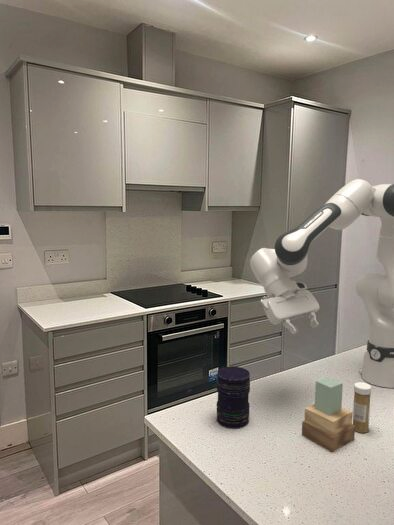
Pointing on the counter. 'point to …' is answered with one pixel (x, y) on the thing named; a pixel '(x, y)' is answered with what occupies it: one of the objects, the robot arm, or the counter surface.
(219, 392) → the storage jar
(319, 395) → the sage block
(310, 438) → the walnut block
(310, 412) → the oak block
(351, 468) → the counter surface
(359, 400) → the sprinkles bottle
